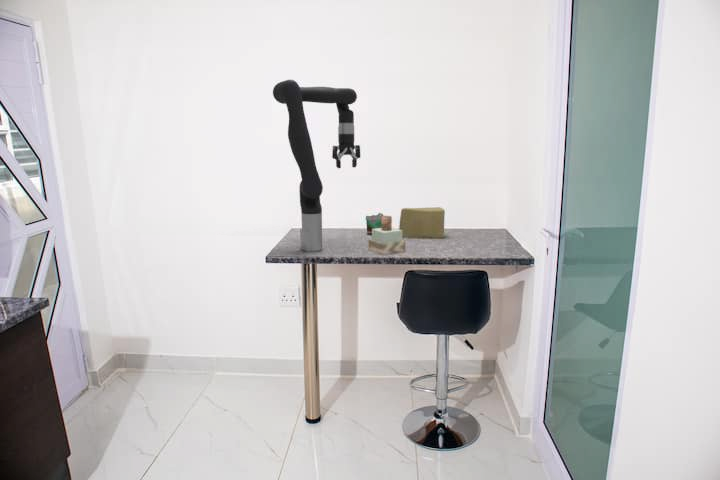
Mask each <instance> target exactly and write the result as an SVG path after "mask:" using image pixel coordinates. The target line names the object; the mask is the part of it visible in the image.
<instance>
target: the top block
mask: <svg viewBox="0 0 720 480" xmlns="http://www.w3.org/2000/svg"><path fill="white" fill-rule="evenodd" d="M371 239H372V240H374V241H377V242H380V243H382V244H387V243H394V242H401V241H402V240H403V238H402V230H399V229H398V228H395V227H392V230H390V231H384V230H381V228H376V229H372V235H371Z"/></svg>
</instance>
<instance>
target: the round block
mask: <svg viewBox="0 0 720 480" xmlns="http://www.w3.org/2000/svg"><path fill="white" fill-rule="evenodd" d="M392 220H393V217H392V216H391V215H384V216H382V222H381V230H384V231H390V230H392V228H393V227H392V225H393V221H392Z"/></svg>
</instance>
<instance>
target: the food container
mask: <svg viewBox="0 0 720 480" xmlns="http://www.w3.org/2000/svg"><path fill="white" fill-rule="evenodd" d="M382 216H385V215H384V214H383V213H381V212H378V214H372V215H366V216H365V221H366V234H367V235H369V234H372V229H376V228H381V222H382Z"/></svg>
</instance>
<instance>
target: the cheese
mask: <svg viewBox="0 0 720 480" xmlns="http://www.w3.org/2000/svg"><path fill="white" fill-rule="evenodd" d="M445 211H446V210H445V209H444V208H443V207H441V206H439V207H438V206H437V207H436V206H435V207H432V206H431V207H414V208H413V207H412V208H411V207H404V208H402V209H401V211H400V216H399V226H398V227H399V230H402V239H403V238H409V239H410V238H411V239H412V238H416V239H418V238H420V239H424V238H425V239H427V238H429V239H443V238H444V235H445V215H446V214H445Z"/></svg>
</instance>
